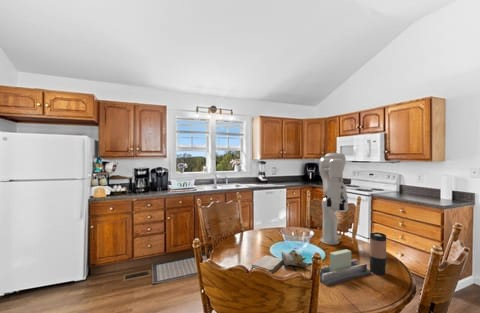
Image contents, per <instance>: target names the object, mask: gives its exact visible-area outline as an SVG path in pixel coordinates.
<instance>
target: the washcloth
mask: <svg viewBox="0 0 480 313" xmlns="http://www.w3.org/2000/svg"><path fill="white" fill-rule="evenodd" d="M283 264H284V262H283V260H282V258H281V257H273V256H271V255H264V256H262V257H261V258H259V259H258V260H256V261H255V262H253V263H251V269H253V268H263V269H265V270H267V271H269V272H271V273H270V274H272V273H274V272H275V271H276V270H277V269H278V268H279V267H280V266H281V265H283Z"/></svg>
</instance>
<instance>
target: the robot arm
mask: <svg viewBox="0 0 480 313" xmlns="http://www.w3.org/2000/svg"><path fill="white" fill-rule="evenodd" d="M346 161H347V158H346V156H345V154H344V153H343V152H342V153H341V152H329V153H326V154H325V155H324V156H321V158H320V159H319V164H318V172H319V175H320V177H321V180H322V188H323V189H322V193H323V196H324V198H322V200H321V209H322V237H321V238H320V239H319V241H320V242H321V243H322V244H326V245H332V246H335V245H338V244H340V241H339V239H342V235H338V217H337V215H336V214H335V213H334V212H340V213H343V212H347V211H348V210H349V202H348V201H349V200H348V199H349V197H348V192H347V187H346V186H345V184H344V177H343V176H344V175H343V172H344V170H345V166H346Z"/></svg>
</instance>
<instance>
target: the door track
mask: <svg viewBox="0 0 480 313" xmlns="http://www.w3.org/2000/svg"><path fill="white" fill-rule="evenodd" d="M358 262H359V261H358V258H357V259H356V258H353V259H351V267H348V268H344V269H340V270H336V271H332V272H329V271H330V264H329V265H324V266H320V267H321V272H320V282H321V283H323V284H324V285H325V286H327V287H328V286H333V285H336V284H339V283H343V282H347V281H350V280H353V279H357V278H360V277H361V278H362V277H365V276H367V275H371V274H372V272H371V271H370V269H368V264H367V263H366V262H364V263H360V264H358ZM309 273H310V274H311V271H310V272H309Z"/></svg>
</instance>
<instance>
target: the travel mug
mask: <svg viewBox="0 0 480 313" xmlns="http://www.w3.org/2000/svg"><path fill="white" fill-rule="evenodd" d="M386 263H387V234H386V233H383V232H382V233H381V232H370V233H369V270H370V271H371V274H374V275H376V276H377V275H378V276H385V275H386V266H387V264H386Z"/></svg>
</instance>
